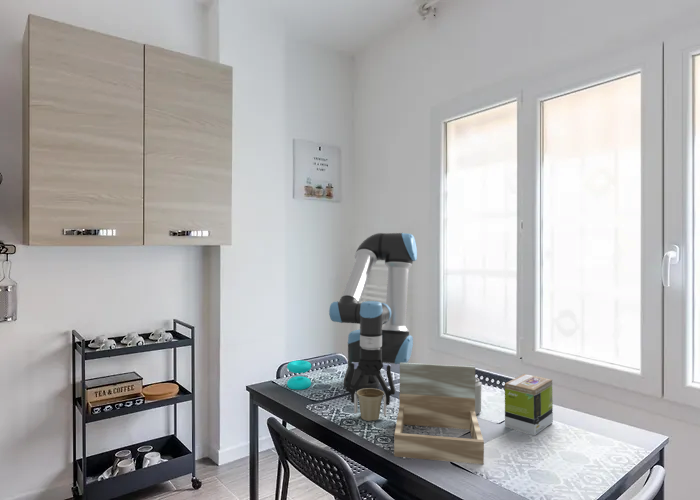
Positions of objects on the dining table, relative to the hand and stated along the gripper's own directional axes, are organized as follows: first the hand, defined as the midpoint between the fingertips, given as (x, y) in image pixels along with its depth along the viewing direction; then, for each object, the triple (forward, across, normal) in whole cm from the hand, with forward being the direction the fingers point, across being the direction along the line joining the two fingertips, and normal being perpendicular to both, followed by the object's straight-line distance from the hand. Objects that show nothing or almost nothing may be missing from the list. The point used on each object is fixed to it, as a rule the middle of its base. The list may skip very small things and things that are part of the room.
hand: (370, 413), depth 150 cm
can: (+2, +34, +12) cm, 36 cm away
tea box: (+2, +52, +4) cm, 52 cm away
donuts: (+2, -33, +27) cm, 43 cm away
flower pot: (+2, 0, 0) cm, 2 cm away
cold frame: (+2, +22, -14) cm, 26 cm away
